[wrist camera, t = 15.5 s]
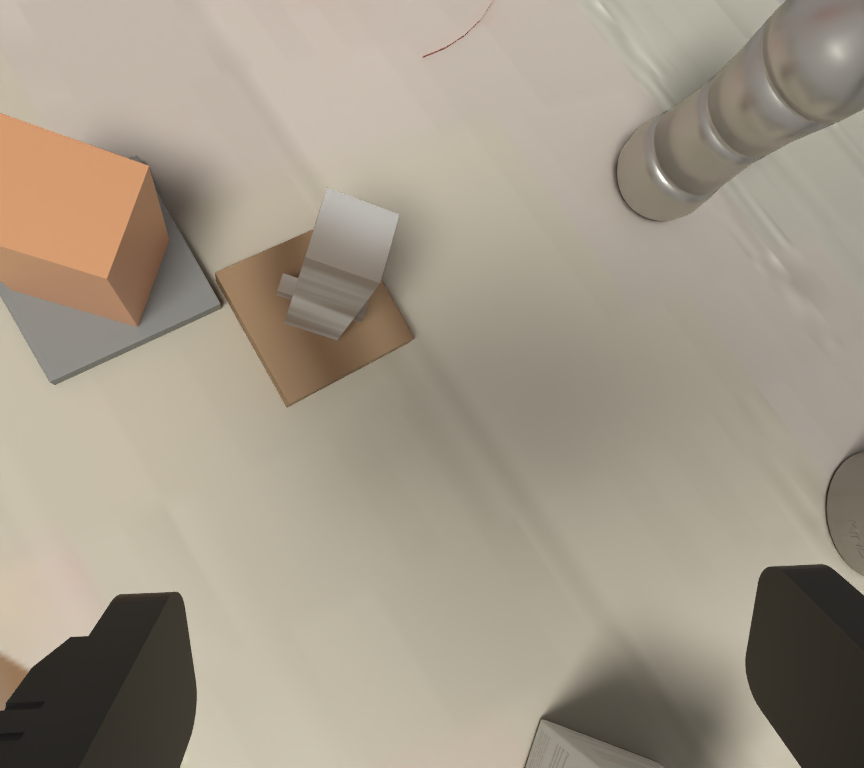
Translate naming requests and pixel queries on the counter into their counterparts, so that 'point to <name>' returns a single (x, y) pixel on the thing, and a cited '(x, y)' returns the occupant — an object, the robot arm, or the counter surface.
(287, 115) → the counter surface
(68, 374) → the mat
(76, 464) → the counter surface
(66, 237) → the tall orange box
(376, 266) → the post stand
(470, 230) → the counter surface
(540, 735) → the supplement box
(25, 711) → the robot arm
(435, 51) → the figurine
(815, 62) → the plastic bottle
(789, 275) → the counter surface
